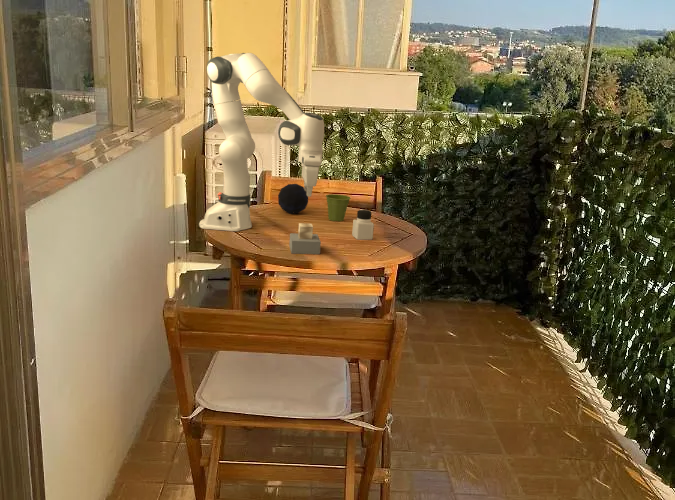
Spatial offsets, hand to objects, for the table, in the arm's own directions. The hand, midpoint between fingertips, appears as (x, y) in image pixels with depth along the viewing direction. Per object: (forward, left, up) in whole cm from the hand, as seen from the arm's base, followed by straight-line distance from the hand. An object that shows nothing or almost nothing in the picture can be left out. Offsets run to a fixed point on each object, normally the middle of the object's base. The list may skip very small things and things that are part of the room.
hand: (307, 193), depth 243 cm
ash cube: (0, 0, -17) cm, 17 cm away
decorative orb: (0, +62, -23) cm, 66 cm away
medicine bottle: (+27, +21, -23) cm, 41 cm away
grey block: (0, 0, -22) cm, 22 cm away
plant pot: (+20, +51, -23) cm, 59 cm away
